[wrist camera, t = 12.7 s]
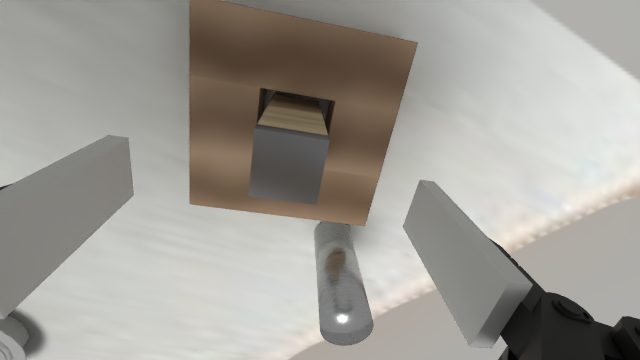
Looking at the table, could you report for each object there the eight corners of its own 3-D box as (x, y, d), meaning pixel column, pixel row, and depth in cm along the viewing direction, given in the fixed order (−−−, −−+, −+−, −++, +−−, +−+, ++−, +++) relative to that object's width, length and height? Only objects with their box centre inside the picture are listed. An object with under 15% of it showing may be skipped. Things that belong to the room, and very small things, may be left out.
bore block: (207, 2, 23) (189, -6, 19) (401, 42, 25) (417, 42, 21) (203, 184, 29) (189, 204, 26) (357, 205, 31) (364, 226, 28)
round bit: (317, 216, 32) (325, 305, 21) (353, 220, 32) (379, 310, 21) (311, 246, 33) (315, 343, 22) (345, 249, 34) (366, 347, 23)
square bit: (274, 93, 26) (254, 128, 15) (318, 101, 27) (329, 140, 16) (269, 136, 28) (248, 195, 17) (311, 143, 28) (316, 205, 17)
